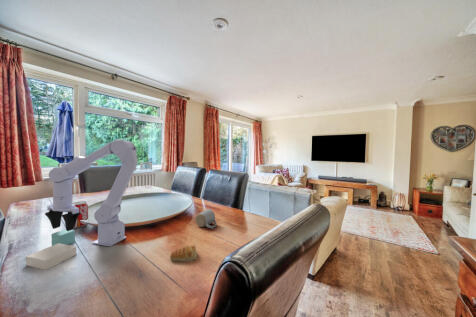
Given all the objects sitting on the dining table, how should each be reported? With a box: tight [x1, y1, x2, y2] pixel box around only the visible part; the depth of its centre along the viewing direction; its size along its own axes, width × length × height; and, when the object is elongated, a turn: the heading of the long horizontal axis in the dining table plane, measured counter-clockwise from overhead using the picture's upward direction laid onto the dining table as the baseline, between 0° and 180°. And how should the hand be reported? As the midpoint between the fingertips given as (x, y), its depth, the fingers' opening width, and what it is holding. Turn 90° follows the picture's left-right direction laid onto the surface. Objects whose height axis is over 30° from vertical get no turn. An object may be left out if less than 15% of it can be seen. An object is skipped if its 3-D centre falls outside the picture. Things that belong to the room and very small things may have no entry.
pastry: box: [169, 244, 197, 263], centre depth 67 cm, size 9×7×4 cm
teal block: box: [51, 228, 76, 246], centre depth 74 cm, size 5×5×5 cm
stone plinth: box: [25, 243, 77, 270], centre depth 63 cm, size 9×9×3 cm
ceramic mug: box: [195, 208, 217, 229], centre depth 95 cm, size 11×8×8 cm
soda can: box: [72, 200, 89, 229], centre depth 92 cm, size 7×7×12 cm
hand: (63, 228), depth 74 cm, fingers open, 7 cm apart
